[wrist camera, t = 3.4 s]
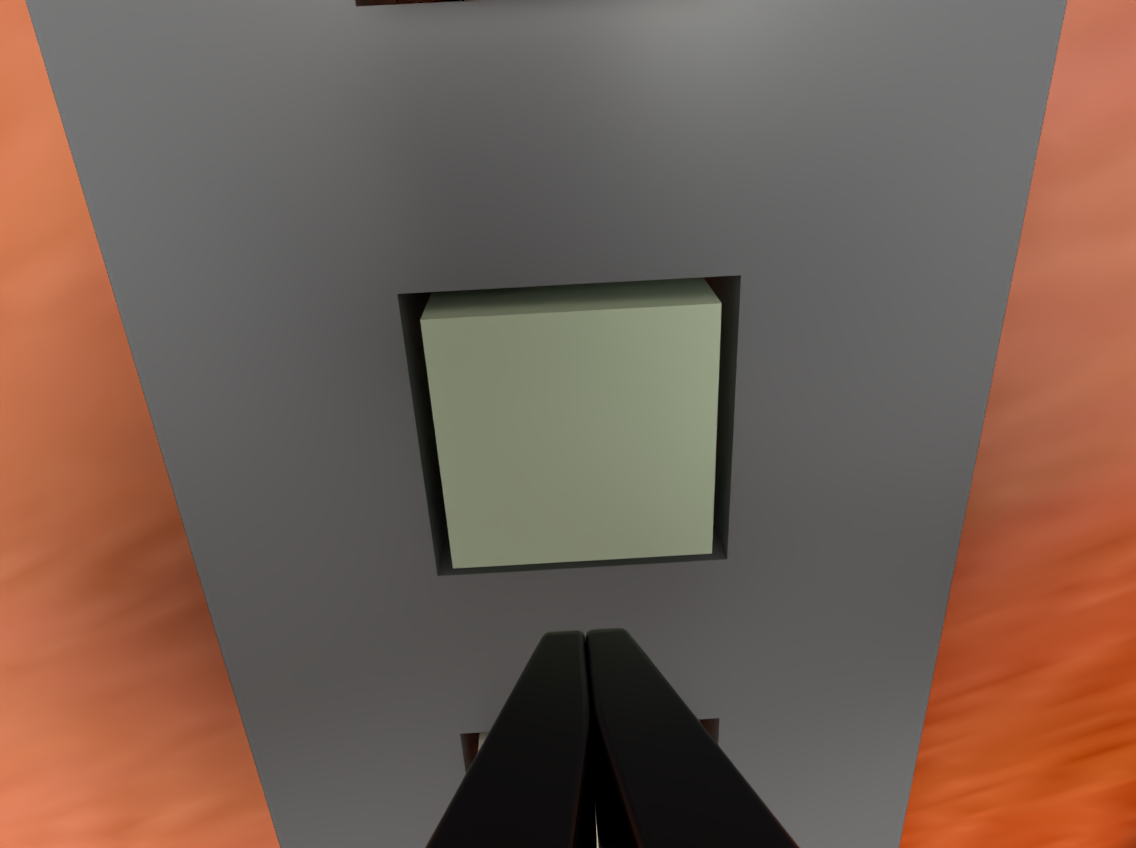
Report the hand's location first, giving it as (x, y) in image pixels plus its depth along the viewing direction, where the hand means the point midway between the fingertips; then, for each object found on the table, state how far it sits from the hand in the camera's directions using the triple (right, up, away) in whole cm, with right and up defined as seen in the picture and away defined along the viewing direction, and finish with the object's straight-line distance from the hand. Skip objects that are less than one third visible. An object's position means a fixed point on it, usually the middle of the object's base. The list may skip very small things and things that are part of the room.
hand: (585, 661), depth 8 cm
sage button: (0, +3, +5) cm, 6 cm away
